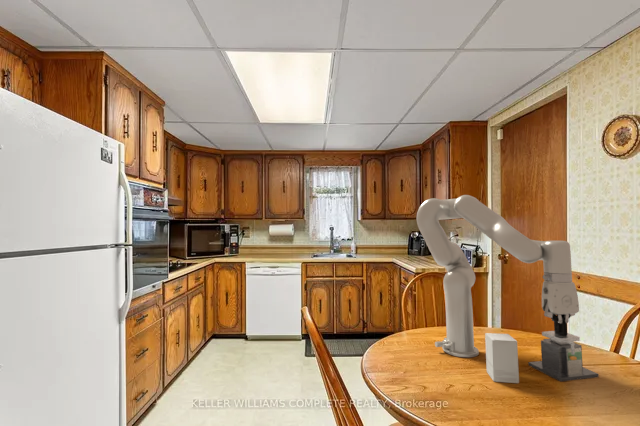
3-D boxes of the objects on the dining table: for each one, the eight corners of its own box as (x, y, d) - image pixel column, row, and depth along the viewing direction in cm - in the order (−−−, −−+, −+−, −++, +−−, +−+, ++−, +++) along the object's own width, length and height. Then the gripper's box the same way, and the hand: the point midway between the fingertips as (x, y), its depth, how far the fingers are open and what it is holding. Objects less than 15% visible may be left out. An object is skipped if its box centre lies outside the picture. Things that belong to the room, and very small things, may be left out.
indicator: (572, 360, 100) (572, 357, 100) (569, 359, 101) (569, 356, 101) (576, 359, 100) (576, 357, 100) (574, 358, 101) (574, 356, 101)
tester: (560, 381, 99) (558, 351, 99) (528, 365, 111) (527, 338, 111) (598, 377, 101) (597, 347, 102) (563, 361, 113) (562, 335, 114)
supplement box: (519, 383, 98) (518, 341, 99) (493, 381, 99) (491, 339, 100) (510, 373, 105) (509, 333, 106) (485, 371, 107) (484, 332, 107)
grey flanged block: (569, 371, 100) (567, 341, 100) (543, 359, 109) (541, 331, 110) (588, 369, 101) (586, 339, 101) (561, 357, 110) (559, 330, 111)
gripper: (548, 280, 102) (551, 340, 102) (588, 278, 105) (591, 336, 104) (528, 277, 110) (531, 332, 109) (566, 275, 112) (569, 329, 112)
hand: (560, 334), depth 107 cm, fingers closed
